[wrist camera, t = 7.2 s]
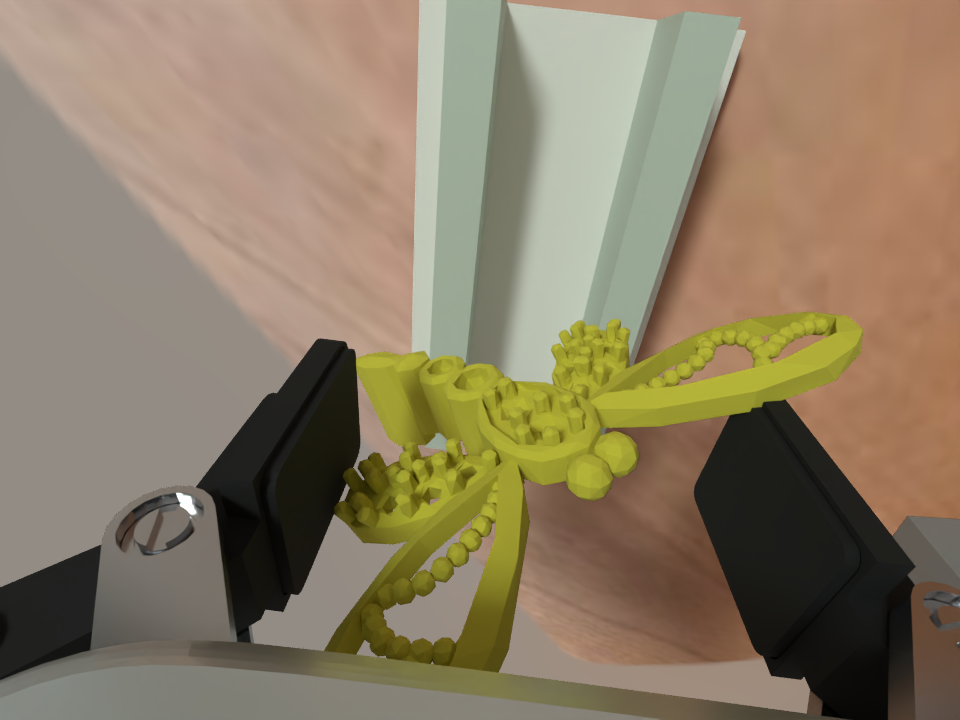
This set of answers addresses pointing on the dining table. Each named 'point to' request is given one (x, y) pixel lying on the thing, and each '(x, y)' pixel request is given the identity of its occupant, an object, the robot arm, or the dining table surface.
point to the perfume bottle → (931, 549)
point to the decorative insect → (535, 455)
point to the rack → (553, 171)
